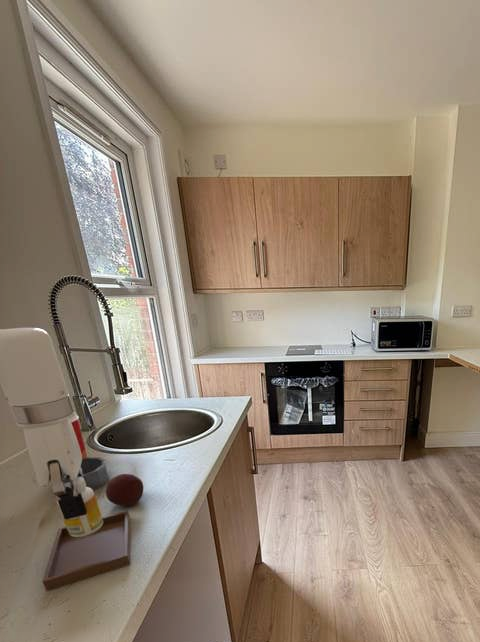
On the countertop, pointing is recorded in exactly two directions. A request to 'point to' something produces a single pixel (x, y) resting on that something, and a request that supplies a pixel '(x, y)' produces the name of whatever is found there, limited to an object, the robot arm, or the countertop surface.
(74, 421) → the coffee cup
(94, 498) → the supplement bottle
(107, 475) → the grey round bowl
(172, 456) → the countertop surface
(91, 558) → the tray
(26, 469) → the countertop surface
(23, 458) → the countertop surface
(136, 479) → the dark red plum
